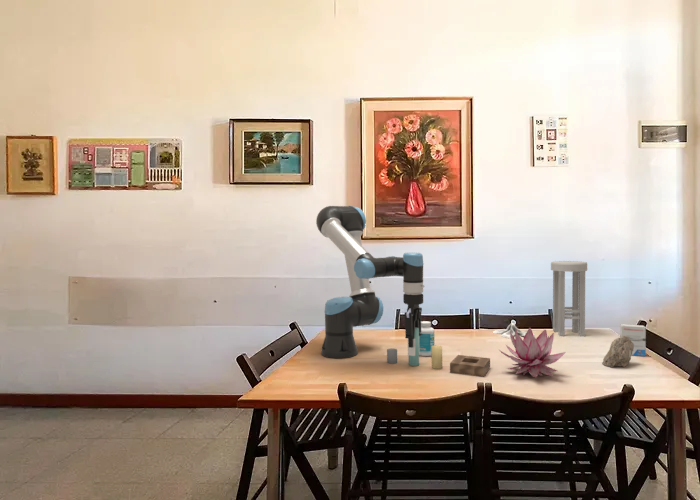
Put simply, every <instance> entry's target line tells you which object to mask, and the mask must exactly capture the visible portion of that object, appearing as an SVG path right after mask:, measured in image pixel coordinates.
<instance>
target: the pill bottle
mask: <svg viewBox="0 0 700 500" xmlns="http://www.w3.org/2000/svg"><path fill="white" fill-rule="evenodd" d="M421 333H422V335H421V336H420V335H419V357H431V346H433V345H435V329H434V328H433V327H432V321H426V320H423V321H422V320H421Z"/></svg>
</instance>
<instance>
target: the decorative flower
mask: <svg viewBox="0 0 700 500" xmlns="http://www.w3.org/2000/svg"><path fill="white" fill-rule="evenodd" d="M517 329H518V328H517ZM517 329H516V328H515V337H513V335H512V333H511V331H510V337H511V338H510V340H511V343H512V345H513V347H514V349H515V351H514V349H512V348H511V347H510V346H508V344H505V346H506V348H507V350H508V351H509V353H511V355H509V354H507V353H505V352H503V351H501V350H500V349H498V351H499V352H500V353H501V354H502V355H504V356H506V357H507V358H509V359H510V360H512V361H513V362H515V363H511V365H512V366H514V367H507V368H506V369H508V370H514V369H518V370H517V371H516V372H515V373H514V374H515V375H518V374H522V373H523V374H522V376H525V375H526V374H528V372H529V374H530V376H532V378H537V377H538V376H540V377H543V375H542V374H544V375H546V376H550V377H551V376H552V377H554V375H553V373H552V372H558V370H557V369H555V368H552V367H549V366H548V365H551V364H553V363H556V362H558V361H559V360H560V359H561V358H562V357H563V356H564V355H565V354H566V351H563V352H559V353H554V354H551V353H552V348H553V347H552V346H553V343H554V336H555V332H552V333H551V335H548V332H547V329H544V330H543V331H541V333H540V334H539V335H538V336H537V337H536V336H535V337H534V335H533V330H532V328H531V327H528V329H527V331H526V332H527V333H526V334H525V336H524V337H523V339H522V337H521V336H519V335H518V332H517Z"/></svg>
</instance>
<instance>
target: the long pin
mask: <svg viewBox="0 0 700 500" xmlns="http://www.w3.org/2000/svg"><path fill="white" fill-rule="evenodd" d="M414 338H415V356H410V355H408V354H407V356H408V357H407V358H408V359H407V360H408V366H411V367H417V366H419V365H420V355H419V328H417V327H415V334H414Z"/></svg>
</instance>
